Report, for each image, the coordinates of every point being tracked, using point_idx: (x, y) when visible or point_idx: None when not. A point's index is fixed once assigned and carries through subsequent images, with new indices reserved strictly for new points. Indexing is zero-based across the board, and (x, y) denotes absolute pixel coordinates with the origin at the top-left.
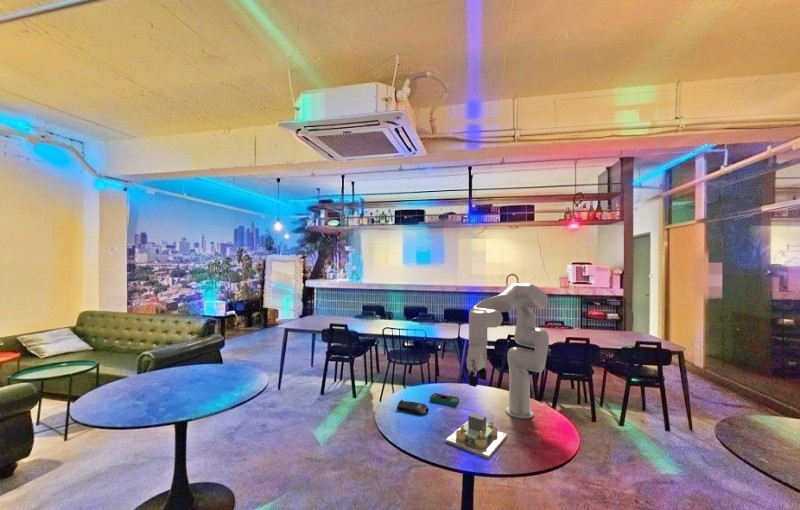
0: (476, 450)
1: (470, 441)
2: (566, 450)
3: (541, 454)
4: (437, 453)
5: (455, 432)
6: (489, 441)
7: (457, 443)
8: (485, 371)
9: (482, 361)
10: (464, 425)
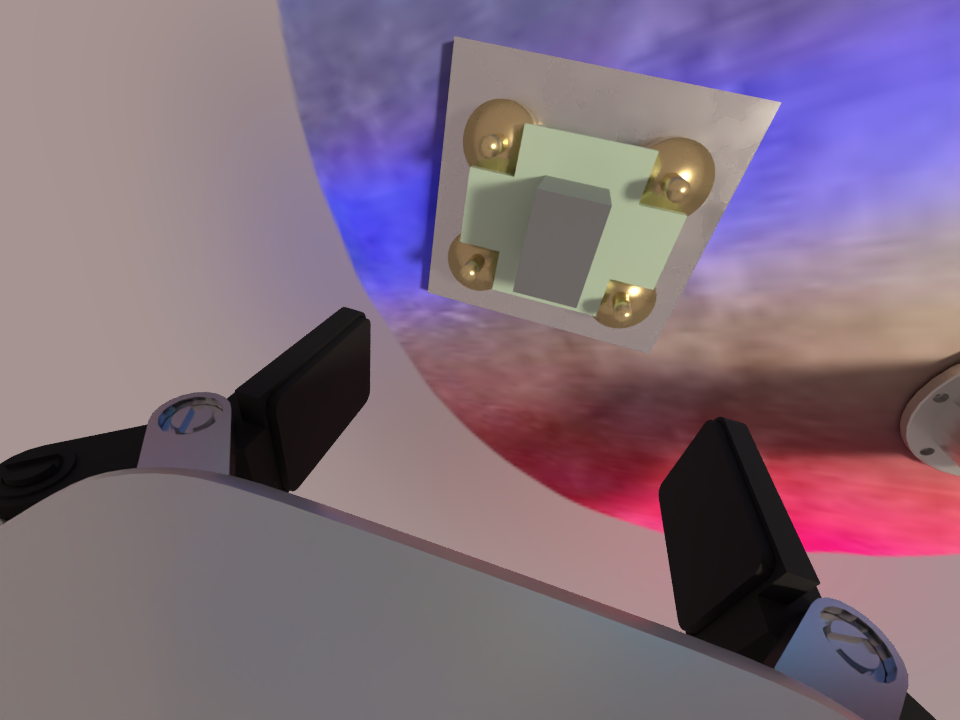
0: (436, 239)
1: None
2: (610, 507)
3: (551, 444)
4: (338, 40)
5: (564, 69)
6: None
7: (446, 129)
8: (686, 627)
9: None
10: (571, 139)
